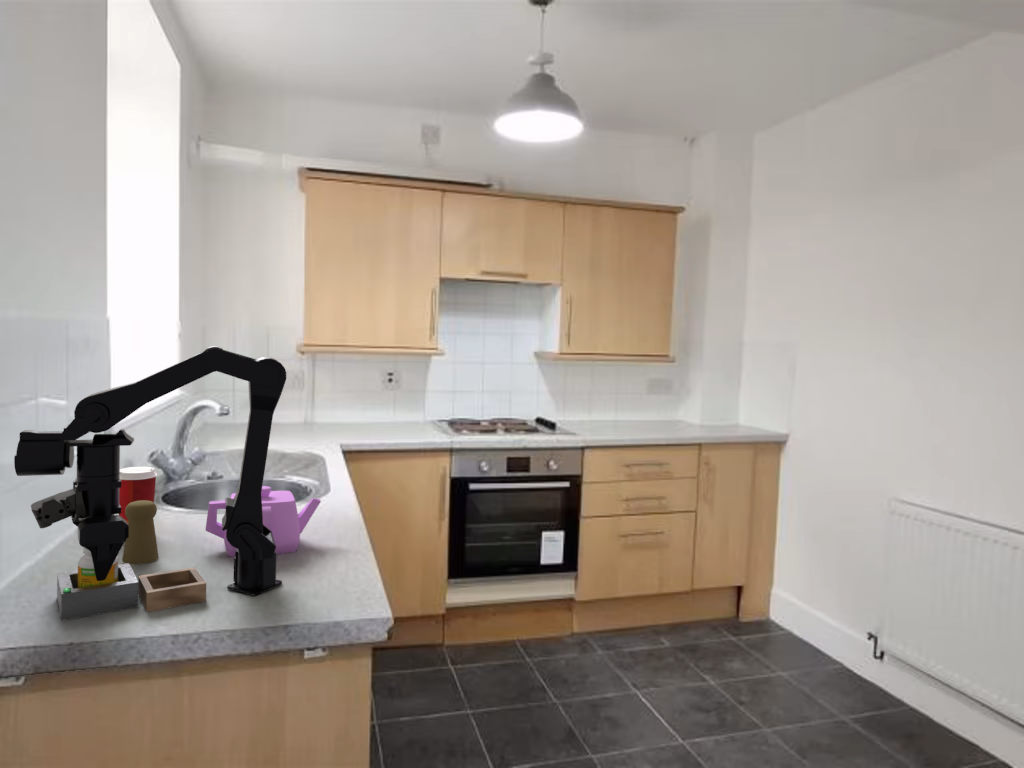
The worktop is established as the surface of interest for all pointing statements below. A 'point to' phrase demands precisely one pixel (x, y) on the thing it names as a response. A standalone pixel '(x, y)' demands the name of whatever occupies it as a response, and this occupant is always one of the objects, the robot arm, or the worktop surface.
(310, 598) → the worktop surface
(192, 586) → the wooden box
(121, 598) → the port
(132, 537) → the cork
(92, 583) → the supplement bottle
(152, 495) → the paper cup
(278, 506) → the teakettle
